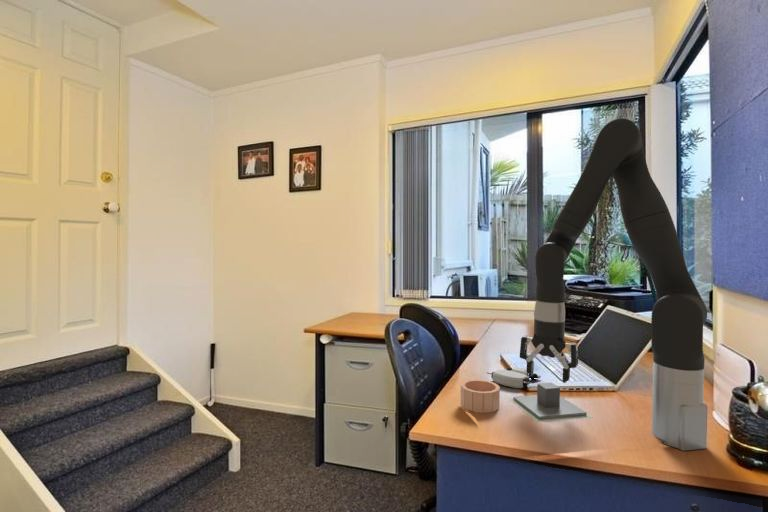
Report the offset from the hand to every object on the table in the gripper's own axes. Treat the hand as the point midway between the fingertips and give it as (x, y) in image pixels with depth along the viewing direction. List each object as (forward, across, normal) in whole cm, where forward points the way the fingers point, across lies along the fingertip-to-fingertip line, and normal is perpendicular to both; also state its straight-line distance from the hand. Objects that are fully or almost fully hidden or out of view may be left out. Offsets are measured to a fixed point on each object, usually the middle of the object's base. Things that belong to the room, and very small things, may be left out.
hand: (547, 378), depth 108 cm
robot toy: (+9, +13, -14) cm, 21 cm away
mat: (+8, 0, 0) cm, 8 cm away
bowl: (+9, +15, +9) cm, 20 cm away
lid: (+8, 0, 0) cm, 8 cm away
